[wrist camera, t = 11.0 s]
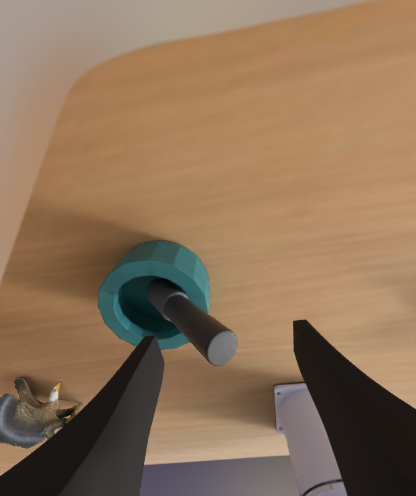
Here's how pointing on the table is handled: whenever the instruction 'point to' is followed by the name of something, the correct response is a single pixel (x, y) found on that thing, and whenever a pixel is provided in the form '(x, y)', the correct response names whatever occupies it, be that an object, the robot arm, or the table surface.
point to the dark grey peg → (193, 322)
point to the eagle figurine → (31, 416)
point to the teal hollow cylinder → (134, 291)
